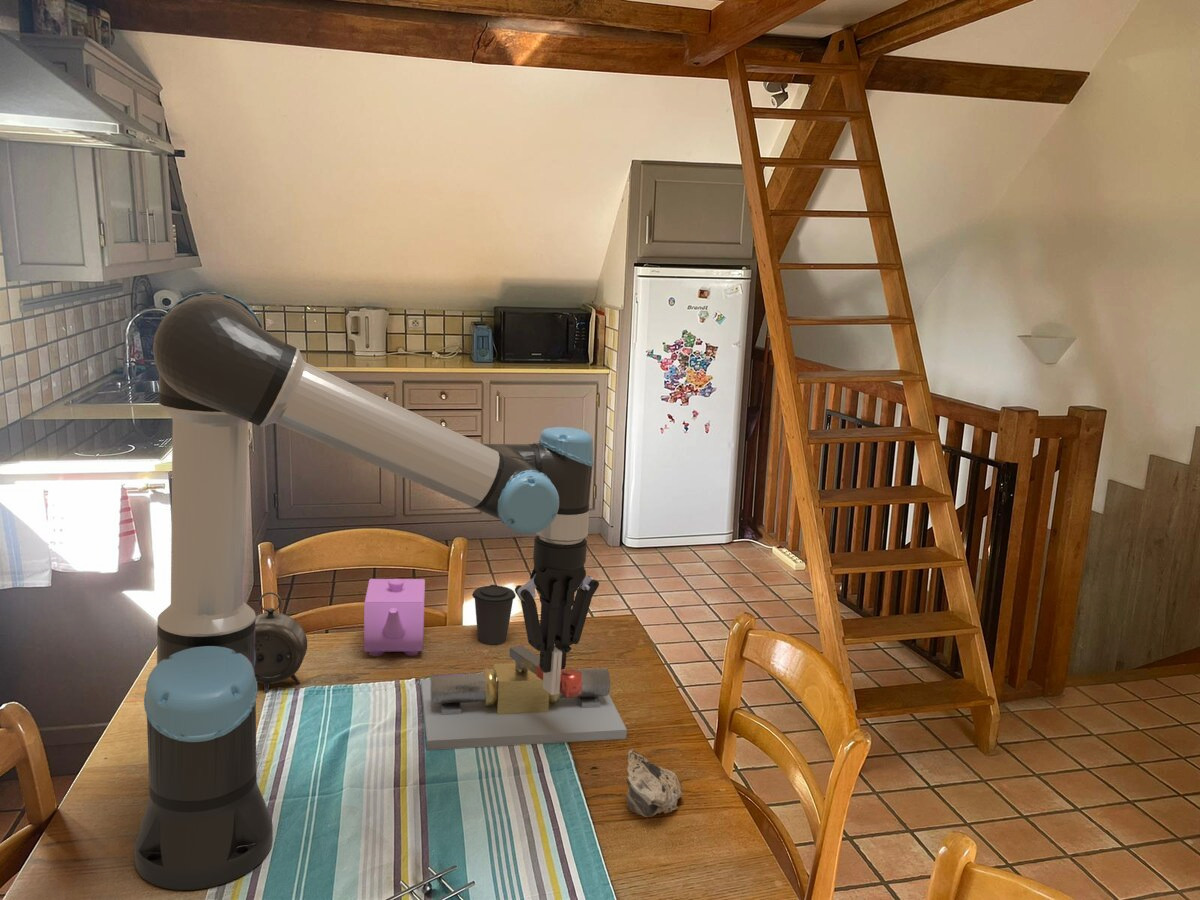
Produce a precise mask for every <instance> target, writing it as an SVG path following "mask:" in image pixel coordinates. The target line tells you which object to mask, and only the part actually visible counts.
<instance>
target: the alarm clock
mask: <svg viewBox="0 0 1200 900" xmlns="http://www.w3.org/2000/svg"><path fill="white" fill-rule="evenodd" d="M267 595H273V596H276V597H277V599H278V600H279V601H278V602H279V603H278V605H277V607H275V608H273V607H269V608H267V609H266V608H265V607H264V606H263V604H262V599H263V598H264V597H265V596H267ZM258 604H259V607H260V608H261V610H263V611H266V612H262V613H259V614H257V615H256V620H255V667H254V673H255V678H256V681H257V683H260V684H264V688H263V689H264V690H263V691H264V692H265V693H267V692H269V690H270V689H269V688H270V684H277V683H281V682H284V681H286V680H288V679H290V678H291V679H292V680H293V681H294V683H295V684H296V685H299V684H300V679H298V677H297V675H296V673H297V672H298V671H299V669H300V668H301V666H302V663H303V661H304V658H305V656H306V654H307V651H308V638H307V635H306V632H305V630H304V629H303V627H302V626H301V625H300V623H299V622H298V621H296V620H295V619H294V618H293V617H291V616H289V615H286V614H284V613H279V612H276V611H277V610H278V609H279V608H281V605H282V599H281V597H280V595H279V594H278V593H276V592H273V591H268V592H265V593H263V594H261V596H260V597H259V601H258Z"/></svg>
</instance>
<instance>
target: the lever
mask: <svg viewBox="0 0 1200 900" xmlns="http://www.w3.org/2000/svg"><path fill="white" fill-rule="evenodd" d="M509 658H511V659H513V661H515V663H516V665H515V671H516V672H518V673H526V672H528V670H530V671H531V672H533V673H534V674H536V675H537V677H538V678H540V679H541V680H543V673H544V672H543V671H542V670H541V669H540V667H539V664H540V655H539V654H536V653H535V652H533V651H532V650H530V649H529V648H527V647H525V646H524V645H522V644H519V645H516V646H512V647H509ZM581 681H582V673H581V672H580V671H578V670H575V669H573V668H567V669H562V670H561V677H560V693H561V694H562V695H563V696H566V697H577V696H579V695H580V694H581V693H582V682H581Z"/></svg>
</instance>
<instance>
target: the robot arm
mask: <svg viewBox="0 0 1200 900" xmlns="http://www.w3.org/2000/svg"><path fill="white" fill-rule="evenodd" d="M152 344H153V345H152V346H153V347H152V353H153V359H154V364H155V366H156V368H157V371H158V406H159V407H160V408H161V409H163V410H164V412H166V413H167V414H168V415H169V416H170V417H171V419H172V440H171V441H172V445H171V446H172V452H171V458H172V459H171V460H172V461H171V467H172V469H171V539H170V540H171V541H170V542H171V551H170V552H171V553H170V554H171V555H170V557H171V558H170V604H169V605H168V606H167V607H166V608H165V609H163V610H162V612H160V614H159V615H158V616H157V620H156V621H157V623H156V625H157V626H156V627H157V629H156V630H157V631H156V635H157V637H156V665H155V666H154V667H153V669H152V670H151V671H150V673H149V675H148V677H147V680H146V683H145V684H146V685H145V686H146V687H145V691H144V698H143V706H144V712H145V714H146V715H145V716H146V723H147V724H146V728H147V755H148V757H147V759H148V760H147V761H148V764H147V765H148V784H149V785H148V786H149V791H148V792H149V798H148V803H147V805H146V808H145V811H144V814H143V817H142V820H141V823H140V826H139V830H138V831H137V834H136V839H135V844H134V860H135V861H134V862H135V863H134V864H135V868H136V869H135V870H136V871H137V873H138V874H139V876H140V877H142V879H144V880H145V881H146V882H148V883H150V884H151V885H153V886H156V887H160V888H163V889H167V890H169V889H170V890H177V891H192V890H193V891H194V890H201V889H207V888H213V887H216V886H219V885H223V884H226V883H229V882H232V881H233V880H236V879H238V878H240V877H242V876H244V875H246V874H247V873H249V872H251V871H252V870H254V869H255V868H256V867H258V866H259V865H260V864H261V863H262V862H263V861H264V860H265V859H266V857H267V856H268V854H269V853H270V852H271V850H272V846H273V841H274V839H273V836H274V833H273V829H274V828H273V821H272V816H271V814H270V812H269V808H268V806H267V804H266V801H265V799H264V796H263V795H262V791H261V790H260V787H259V784H258V781H257V778H258V777H257V775H258V773H257V767H258V766H257V703H256V700H257V698H258V697H257V696H258V682H257V681H256V678H255V673H254V667H255V620H256V616H257V615H256V612H255V610H254V609H253V608H252V606H249V605H248V603H246V602H245V601H244V600H245V571H246V570H245V567H246V566H245V564H246V563H245V562H246V529H247V528H246V527H247V525H246V524H247V523H246V522H247V489H248V487H247V486H248V483H247V481H248V453H249V451H248V450H249V448H248V445H249V444H248V443H249V423H251V424H252V425H256V426H257V427H261V428H263V427H266V426H268V425H271V424H277V425H279V426H281V427H284V428H286V429H289V430H290V431H291V430H292V431H293V432H296V433H298V434H300V435H302V436H305V437H307V438H310V439H312V440H315V441H317V442H320V443H322V444H324V445H326V446H329V447H330V448H333V449H336V450H337V451H338V450H339V451H341V452H343V453H345V454H348V455H349V456H353V457H355V458H356V459H357V458H358V459H360V460H362V461H363V462H366V463H369V464H371V465H373V466H376V467H378V468H380V469H383V470H385V471H388V472H390V473H392V474H395V475H396V476H399V477H401V478H404V479H407V480H409V481H411V482H414V483H416V484H418V485H421V486H423V487H425V488H428V489H430V490H433V491H434V492H437V493H440V494H442V495H444V496H446V497H449V498H451V499H453V500H455V501H458V502H459V503H462V504H465V505H468V506H469V507H472V508H473V509H476V510H478V511H480V512H482V513H485V514H487V515H489V516H491V517H494V518H496V519H499V520H500V521H501V522H502V524H503V525H504V526H505V527H507V528H509V529H511V530H513V531H515V532H516V533H518V534H522V535H532V534H536V536H535V537H534V541H533V554H532V555H533V556H532V559H533V569H532V570H531V574H530V577H529V578H530V579H529V581H528V580H527V582H526V583H525V584H523V585H520V584H519V585H516V586H515V587H514V593H515V595H516V596H517V597H518V598H519V600H520V604H521V610H522V614H523V621H524V626H525V631H526V635H527V642H528V644H529V645H530V646H532V648H534V650H536V651H537V652H539V657H540V664H539V667H540V669H541V670H542V671H543V672H544V673H543V688H544V689H545V690H546V691H547V692H548V693H550V694H551V695H554V694H559V692H560V677H561V670H562V669H563V670H565V668H566V667H567V666H566V665H567V664H566V663H567V653H570V652H571V650H572V647H571V646H573V645H578V644H579V642H580V640H581V637H582V634H583V631H584V626H585V623H586V621H587V620H586V619H587V616H588V613H589V609H590V605H591V603H592V599H593V596H594V594H595V593H596V592H597V590H598V589H599V586H600V582H599V581H598V580H596V579H595V578H593V577H592V576H590V575H587V571H586V569H585V564H586V560H587V546H588V541H587V539H586V538H587V537H588V535H589V522H590V521H589V519H590V518H589V517H590V501H591V500H590V498H591V488H592V479H593V478H592V477H593V468H594V464H595V463H594V439H593V436H592V435H591V434H590V433H589V432H587V431H586V430H583V429H581V428H575V427H567V426H555V427H547V428H544V429H543V430H542V431H541V433H540V436H539V437H540V438H539V440H538V442H535V443H525V444H524V443H483V442H478V441H476V440H474V439H471V438H469V437H467V436H465V435H463V434H461V433H459V432H456V431H454V430H452V429H450V428H448V427H446V426H443V425H441V424H439V423H437V422H435V421H433V420H431V419H429V418H427V417H424V416H422V415H419V414H417V413H416V412H413V411H412V410H410V409H407V408H405V407H403V406H401V405H398V404H397V403H394V402H392V401H390V400H388V399H385V398H383V397H381V396H379V395H377V394H375V393H372V392H371V391H368V390H366V389H364V388H362V387H359V386H357V385H355V384H353V383H350V382H349V381H347V380H346V379H345V380H344V379H343V378H341V377H338V376H336V375H334V374H332V373H330V372H327V371H325V370H323V369H320V368H318V367H317V366H314V365H312V364H310V363H307V362H306V361H305V360H304V358H303V355H302V353H301V351H300V349H299V348H298V347H296V346H293V345H291V344H288V343H287V342H284V341H283V340H280V339H279V338H277V337H276V336H274V335H272V334H270V332H269V331H266V330H265V329H264V328H263V325H262V323H261V321H260V319H259V317H258V316H257V315H256V314H255V312H254V311H253V310H252V308H251V307H249V306H248V305H247V304H246V303H244V302H243V301H242V300H240V299H237V298H236V297H234V296H231V295H229V294H224V293H219V292H215V291H211V292H210V291H209V292H197V293H194V294H189V295H187V296H186V297H184V298H182V299H180V300H178V301H177V302H175V303H174V304H173V305H172V306H171V307H170V308H169V309H168V310H167V312H166V314H165V315H164V318H163V319H162V320H161V321H160V323H159V325H158V327H157V329H156V331H155V333H154V336H153V343H152ZM536 591H537V593H538V594H539V602H540V605H541V606H540V617H539V613H538V607H537V606H538V605H537V603H536V600H535V598H536V597H537V596H536Z"/></svg>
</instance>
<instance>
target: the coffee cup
mask: <svg viewBox="0 0 1200 900" xmlns="http://www.w3.org/2000/svg"><path fill="white" fill-rule="evenodd" d="M471 596H472V598H474V607H475V617H476V619H475V621H476V632H477V640H478V642H479V643H481V644H482V645H487V646H499V645H503V644H505V643H506V642H507V639H508V633H509V628H510V627H509V626H510V620H511V614H512V608H513V601H514V599H516V596H517V594H516V592H515V590H513V589H511V588H510V587H506V586H503V585H498V584H490V585H483V586H480V587H477V588H475V590H473V592H472V594H471Z"/></svg>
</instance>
